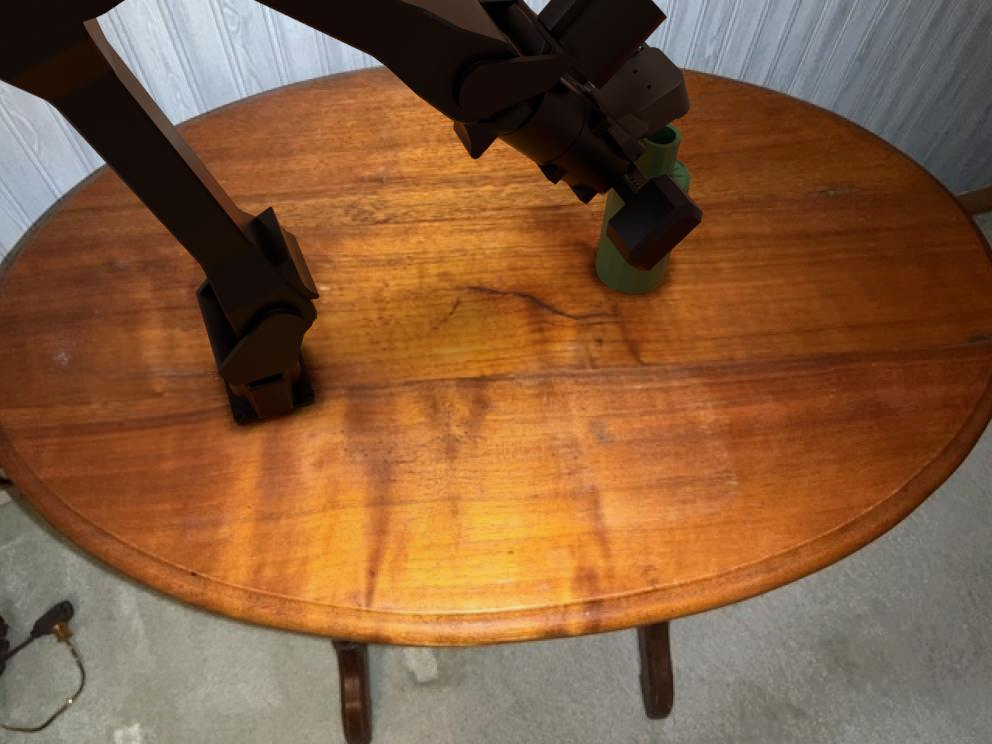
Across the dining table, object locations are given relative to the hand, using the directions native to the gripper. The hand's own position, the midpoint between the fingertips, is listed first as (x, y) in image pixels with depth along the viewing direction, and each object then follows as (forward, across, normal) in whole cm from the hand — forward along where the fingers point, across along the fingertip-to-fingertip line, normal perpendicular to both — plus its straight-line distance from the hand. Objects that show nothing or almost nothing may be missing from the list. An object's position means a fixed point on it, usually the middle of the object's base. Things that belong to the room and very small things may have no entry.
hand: (657, 202), depth 70 cm
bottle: (+4, 0, +6) cm, 8 cm away
